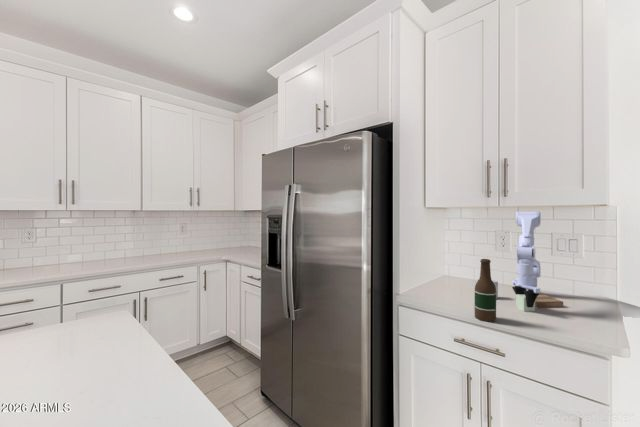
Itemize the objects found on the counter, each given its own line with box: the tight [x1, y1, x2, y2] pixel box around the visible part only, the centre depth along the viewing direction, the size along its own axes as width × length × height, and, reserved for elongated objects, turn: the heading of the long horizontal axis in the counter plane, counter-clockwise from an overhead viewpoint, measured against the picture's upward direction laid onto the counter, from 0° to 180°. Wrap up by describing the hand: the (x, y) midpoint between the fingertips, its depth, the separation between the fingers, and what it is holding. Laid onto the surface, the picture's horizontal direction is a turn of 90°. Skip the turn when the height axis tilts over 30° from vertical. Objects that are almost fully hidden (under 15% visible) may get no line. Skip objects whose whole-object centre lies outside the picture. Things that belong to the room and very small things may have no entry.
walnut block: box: [535, 293, 564, 309], centre depth 140 cm, size 12×12×3 cm
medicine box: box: [477, 278, 499, 300], centre depth 150 cm, size 8×4×9 cm, turn 84°
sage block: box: [515, 294, 536, 312], centre depth 132 cm, size 5×5×6 cm
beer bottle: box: [474, 258, 497, 323], centre depth 121 cm, size 8×8×24 cm
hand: (525, 305), depth 132 cm, fingers closed on sage block, 5 cm apart
